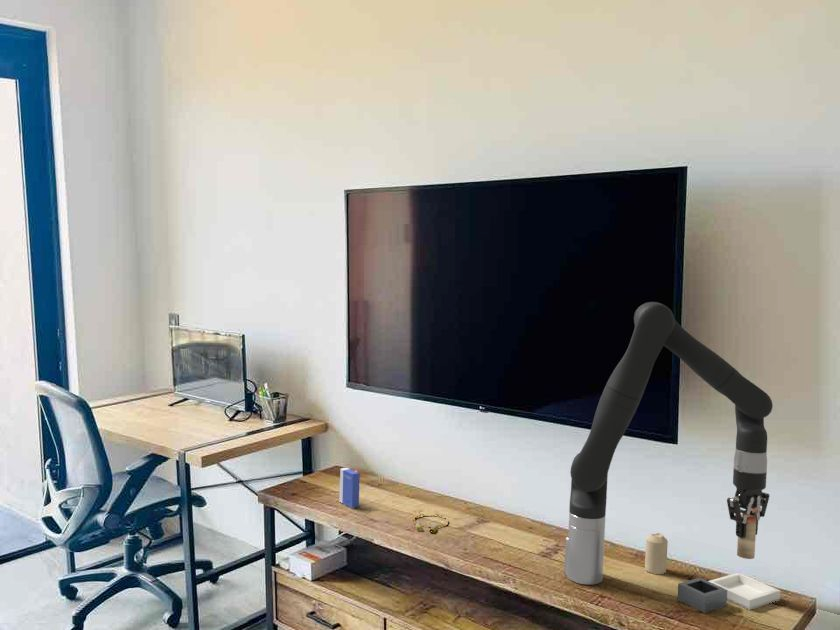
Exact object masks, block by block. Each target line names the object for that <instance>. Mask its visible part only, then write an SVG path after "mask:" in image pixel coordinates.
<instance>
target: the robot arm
mask: <svg viewBox="0 0 840 630" xmlns="http://www.w3.org/2000/svg"><path fill="white" fill-rule="evenodd" d="M633 315H634V316H633V323H634V329H633V332H632V336H631V338H630V342H629V343H628V347H627V348H626V351H625V353H624V354H623V356H622V358H621V359H620V361H619V362H618V363H617V365H616V366H615V367H614V369H613V371H612V373H610V374H611V375H610V376H609V378H608V380H607V382H606V384H605V386H604V388H603V391H602V394H601V395H600V398H599V401H598V404H597V407H596V410H595V413H594V417H593V420H592V424H591V428H590V431H589V433H588V437H587V439H586V441H585V443H584V444H583V446H582V448H581V450H580V451H579V453H577V454H576V455H575V457H573V460H572V462H571V465H570V478H571V482H570V494H569V495H570V496H569V511H568V512H569V515H568V516H569V517H568V537H566V538H565V546H564V564H563V565H564V567H563V569H564V570H563V573H564V574H565V575H566V577H567V579H568V580H570V581H571V582H574V583H577V584H580V585H588V586H589V585H597V584H600V583H602V582H603V577H604V576H603V575H604V573H603V572H604V558H605V557H604V556H605V537H606V536H605V535H606V533H605V532H606V515H607V514H606V511H607V499H608V498H607V497H608V496H607V494H608V478H609V476H608V475H609V470H610V466H611V463H612V461H613V457H614V454H615V452H616V449H617V447H618V445H619V443H620V441H621V439H622V438H623V436H624V434H625V433H626V431H627V429H628V427H629V425H630V423H631V421H632V419H633V417H634V415H635V414H636V411H637V409H638V407H639V406H640V402H641V400H642V397H643V395H644V393H645V391H646V387H647V385H648V383H649V379H650V376H651V373H652V370H653V368H654V364H655V362H656V360H657V358H658V356H659V354H660V352H661V351H662V349H663V347H665V348H667V349H668V350H669V351H670V352H672V353H673V354H674V355H676V356H677V357H678V358H679V359H680V360H681V361H682V362H684V364H685V365H687V366H688V368H690V369H691V371H693V373H695V374H696V375H697V376H698V377H700V378H701V380H703V381H704V382H705V383H707V384H708V385H709V386H710V387H712V388H713V389H714V390H715V391H717V392H718V393H719V394H721V395H723V396H724V397H726V398H727V399H728V400H729V401H730V402H732V404H734V412H735V422H736V424H735V425H736V436H735V437H736V438H735V450H734V451H735V452H734V457H733V473H732V484H733V485H734V487H735V488H736V491H735V494H734V496H733V497H732V498H730V497H727V499H726V504H727V508H728V510H727V511H728V514H729V519H730V520H732V521H734V522H735V535H736V537H737V538H738V537H740V538H745V537H746V520H747V515H753V516H755V517H756V536H757V535H758V530H759V521H760V519H761V518H764V517H765V515H766V511H767V507H768V503H769V500H770V494H769V493H768V492H767V493H766V492H763V490H765V489H766V487H767V476H768V475H767V473H768V471H767V470H768V457H767V455H768V454H767V452H768V432H767V430H766V428H765V424H764V423H765V421H764V419H765V418H766V417H768V416H770V414H771V413H772V410H773V401H772V399H771V396H770V395H769V394H768V393H767V392H765V391H764V390H762V388H760V387H758V386H757V385H756V384H755V383H753V382H752V381H750V380H749V379H748V378H746V377H745V376H743V375H742V374H741V373H740V372H739V371H738V370H737V369H736V368H735V367H734V366H733V365H731V364H730V363H729V362H727V361H726V360H725V359H724V358H723V357H721V356H720V355H719V354H717V353H716V352H715V351H713V350H712V349H710V348H709V347H707V346H706V345H704V344H703V343H702V342H701V341H699V340H698V339H696V338H695V337H693V335H691V334H690V333H689V332H688V331H687V330H685V329H684V327H683V326H682V325H680V324H679V322H678V321H677V320H676V319H675V317H674V313H673V311H672V310H671V308H669V307H668V306H666V305H665V304H663V303H661V302H659V301H658V302H657V301H648V302H645V303H643V304H641V305H640V306H638V307H637V309H636V310H635V312H634V314H633ZM741 514H743V516H742V518H741Z"/></svg>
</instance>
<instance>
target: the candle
mask: <svg viewBox="0 0 840 630" xmlns="http://www.w3.org/2000/svg"><path fill="white" fill-rule="evenodd" d="M645 539H646V540H645V556H644V557H645V560H644V570H645V571H646V570H647V571H648V572H647V571H646V572H647V573H649V572H650V574H652V573H653V574H652V575H664V573H665V574H666V573H667V562H668V561H667V560H668V545H669V543H668V542H669V541H668V540H667V538H666V537H665V536H664V535H663V533H661V532H660V533H659V532H656V533H654V534H653V533H652V534H649V535H648V536H647V537H646V538H645Z"/></svg>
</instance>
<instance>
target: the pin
mask: <svg viewBox="0 0 840 630" xmlns="http://www.w3.org/2000/svg"><path fill="white" fill-rule="evenodd" d="M742 516H743V513H741V518H742ZM756 537H757V535H756V517H755V516H753V515H747V520H746V537H745V538H740V537H738V536H737V544H736V545H737V546H736V547H737V548H736V549H737V550H736V556H737V557H739V558H740V559H741V558H742V559H746V560H754V559H755V553H756Z"/></svg>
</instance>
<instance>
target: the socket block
mask: <svg viewBox="0 0 840 630" xmlns="http://www.w3.org/2000/svg"><path fill="white" fill-rule="evenodd" d="M709 581H710V580H706V579H704V578H701V577H698V578H693V579H689V580H686V581H683V582H680V583H678V584H677V597H676V598H677V600H678V601H680V602H681V603H684V604H686V605H688V606H690V607H692V608H694V609H696V610H697V611H700V612H702V613H703V614H706V613H709V612H712V611H715V610H718V609H722V608H725V607H727V606H728V604H727V603H728V600H727V590H726V589H724V588H722V587H720V586H717V585H715V584H713V583H711V582H709Z"/></svg>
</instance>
